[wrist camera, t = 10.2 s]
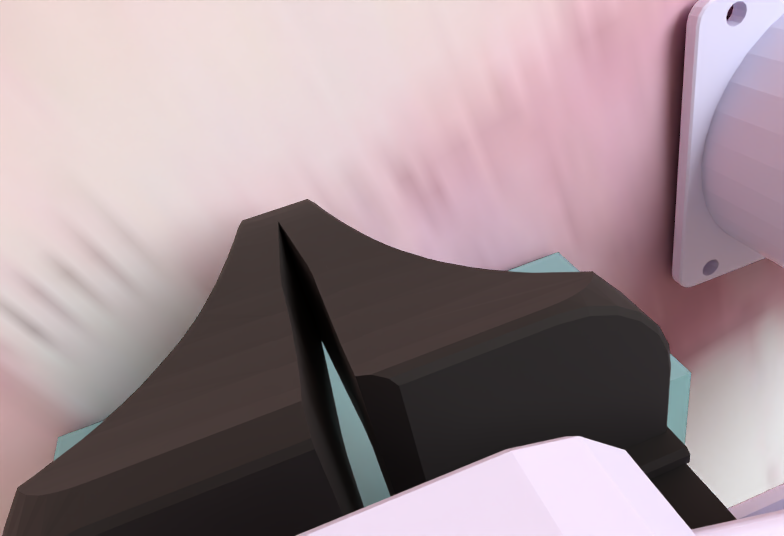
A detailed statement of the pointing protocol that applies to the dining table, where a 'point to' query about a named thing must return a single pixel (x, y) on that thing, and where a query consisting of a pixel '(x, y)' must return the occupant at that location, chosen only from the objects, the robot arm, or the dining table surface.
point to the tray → (359, 443)
